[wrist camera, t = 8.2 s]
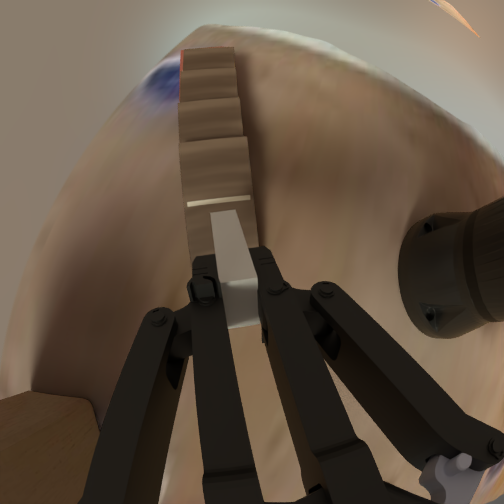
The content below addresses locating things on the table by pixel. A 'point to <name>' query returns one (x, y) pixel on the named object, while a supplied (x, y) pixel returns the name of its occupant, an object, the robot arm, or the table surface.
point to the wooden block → (45, 448)
